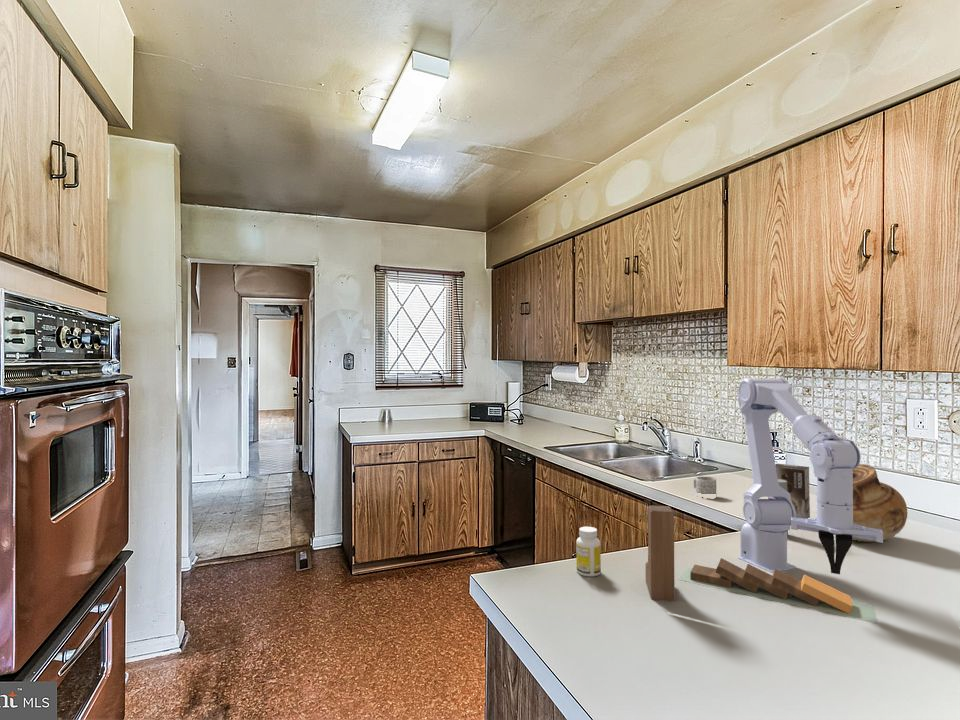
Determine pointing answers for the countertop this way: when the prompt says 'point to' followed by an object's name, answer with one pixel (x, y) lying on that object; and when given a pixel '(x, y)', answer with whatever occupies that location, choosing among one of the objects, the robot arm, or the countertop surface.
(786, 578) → the domino
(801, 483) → the coffee box
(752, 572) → the domino
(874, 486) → the clay pot
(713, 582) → the domino
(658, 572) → the wooden block
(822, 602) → the mat
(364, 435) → the countertop surface
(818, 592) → the orange domino
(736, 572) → the domino
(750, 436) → the robot arm
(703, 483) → the mug
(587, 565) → the supplement bottle
